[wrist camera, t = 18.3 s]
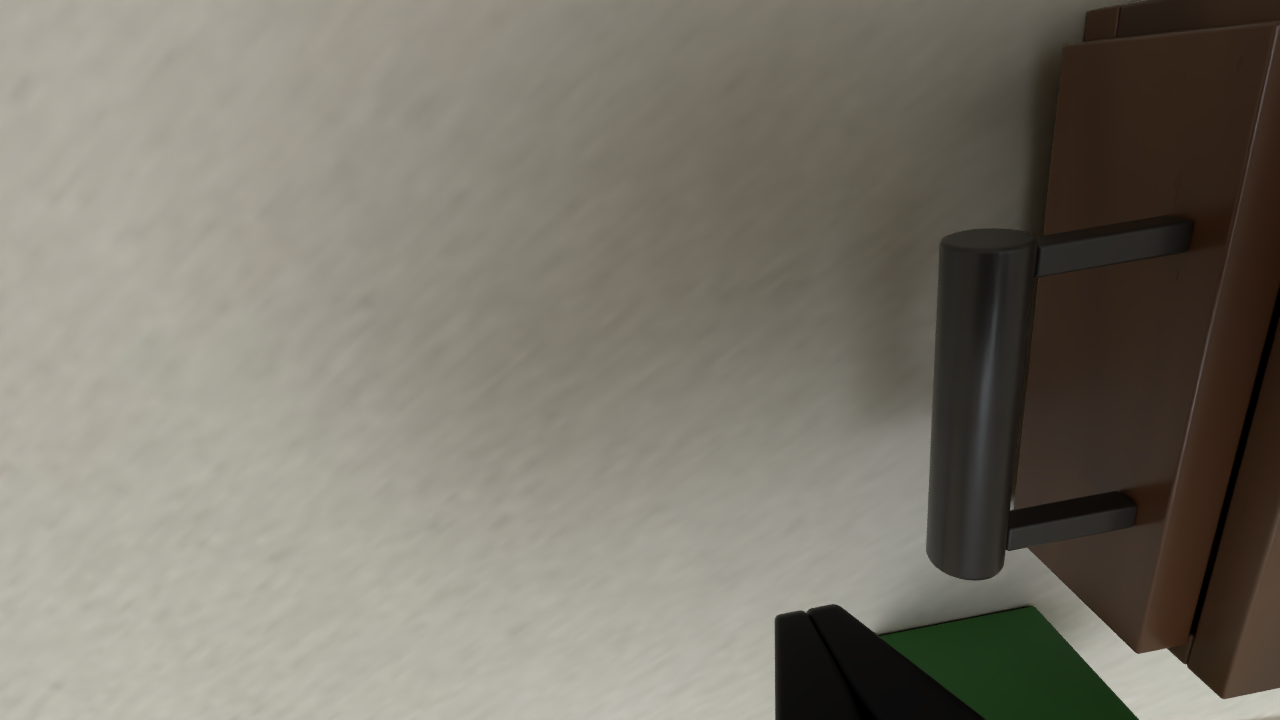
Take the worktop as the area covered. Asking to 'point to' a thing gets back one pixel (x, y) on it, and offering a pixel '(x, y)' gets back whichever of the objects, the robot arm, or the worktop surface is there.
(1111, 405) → the drawer
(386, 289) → the worktop surface
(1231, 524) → the cabinet
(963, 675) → the green rectangular block
